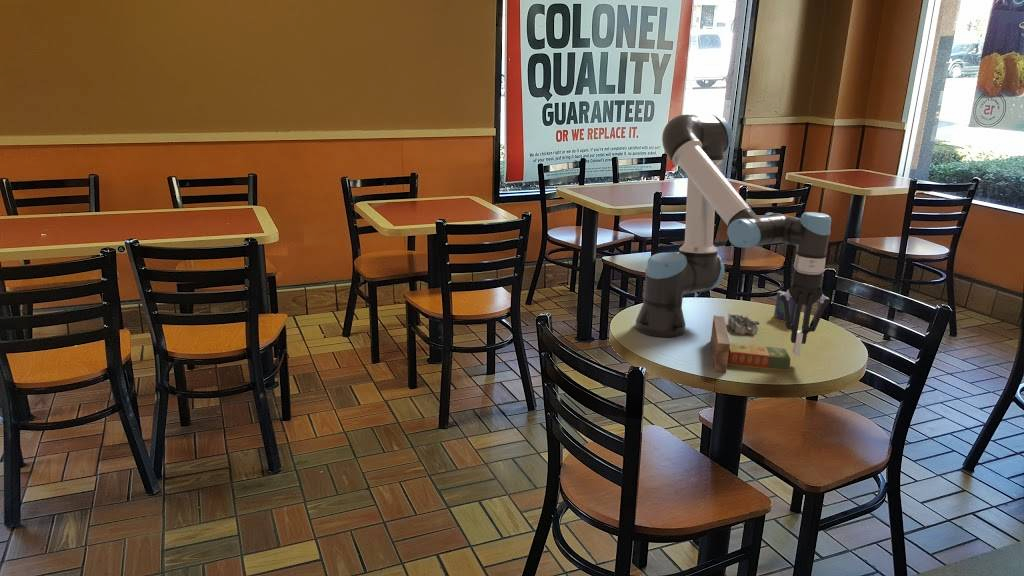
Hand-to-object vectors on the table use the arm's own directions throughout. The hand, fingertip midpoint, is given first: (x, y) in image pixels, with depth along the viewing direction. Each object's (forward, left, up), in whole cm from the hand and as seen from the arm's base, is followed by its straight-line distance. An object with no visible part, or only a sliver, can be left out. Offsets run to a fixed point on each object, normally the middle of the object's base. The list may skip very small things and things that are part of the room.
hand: (796, 353), depth 203 cm
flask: (+3, +40, -3) cm, 41 cm away
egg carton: (-12, +27, -4) cm, 30 cm away
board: (-21, 0, -3) cm, 21 cm away
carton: (-10, -2, -4) cm, 11 cm away
